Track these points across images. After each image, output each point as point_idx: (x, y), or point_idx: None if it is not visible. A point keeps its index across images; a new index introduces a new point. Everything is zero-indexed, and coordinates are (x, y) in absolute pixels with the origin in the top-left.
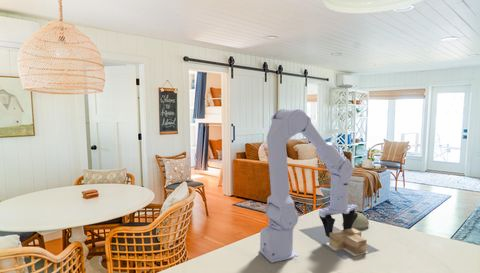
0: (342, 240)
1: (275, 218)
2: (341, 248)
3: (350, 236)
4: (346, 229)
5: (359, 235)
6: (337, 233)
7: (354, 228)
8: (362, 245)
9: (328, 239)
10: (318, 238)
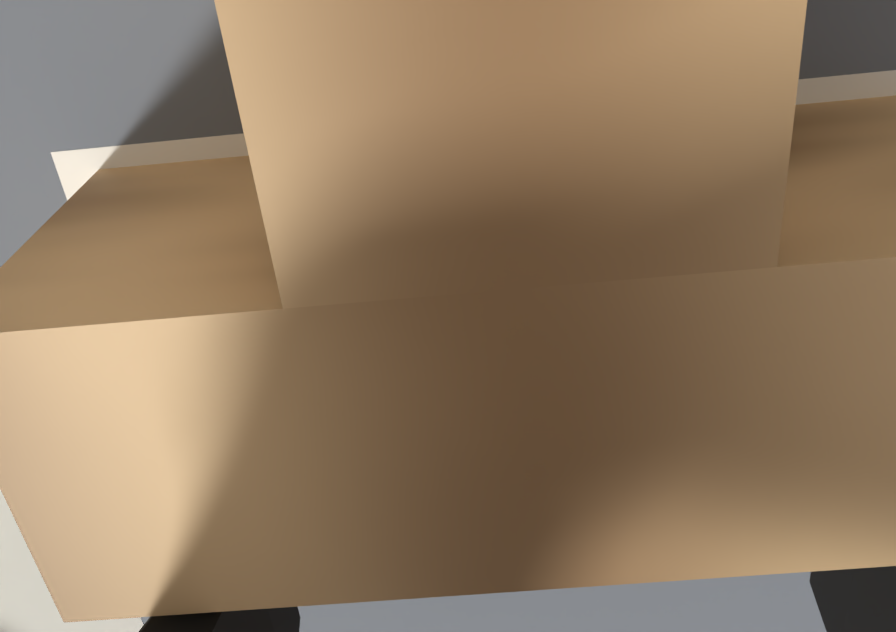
0: (808, 186)
1: None
2: None
3: (640, 116)
4: (357, 594)
5: (70, 269)
6: (875, 454)
7: (49, 589)
8: None
9: None
10: None
